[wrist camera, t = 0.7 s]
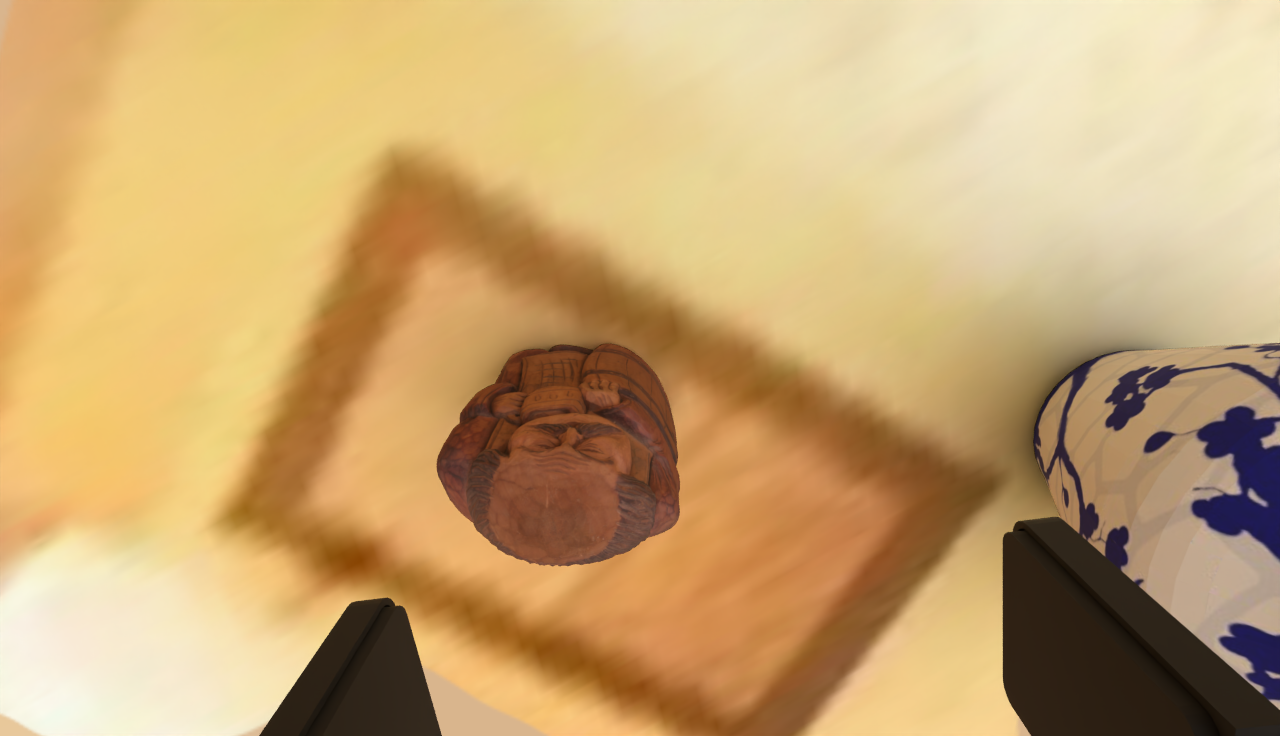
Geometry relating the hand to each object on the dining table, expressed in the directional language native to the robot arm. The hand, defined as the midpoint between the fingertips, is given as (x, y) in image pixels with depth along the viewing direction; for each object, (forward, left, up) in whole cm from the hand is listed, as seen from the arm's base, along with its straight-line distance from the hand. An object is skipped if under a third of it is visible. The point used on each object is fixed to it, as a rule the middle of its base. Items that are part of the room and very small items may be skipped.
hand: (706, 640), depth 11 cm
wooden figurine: (+2, -9, -35) cm, 36 cm away
